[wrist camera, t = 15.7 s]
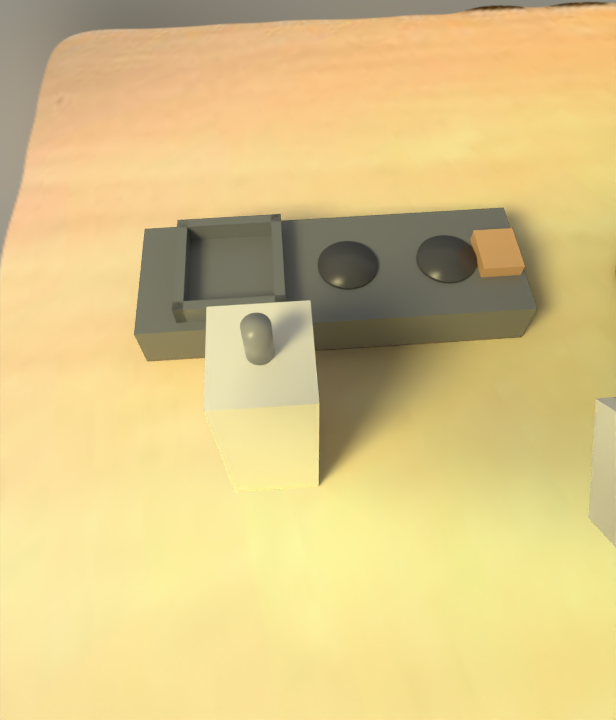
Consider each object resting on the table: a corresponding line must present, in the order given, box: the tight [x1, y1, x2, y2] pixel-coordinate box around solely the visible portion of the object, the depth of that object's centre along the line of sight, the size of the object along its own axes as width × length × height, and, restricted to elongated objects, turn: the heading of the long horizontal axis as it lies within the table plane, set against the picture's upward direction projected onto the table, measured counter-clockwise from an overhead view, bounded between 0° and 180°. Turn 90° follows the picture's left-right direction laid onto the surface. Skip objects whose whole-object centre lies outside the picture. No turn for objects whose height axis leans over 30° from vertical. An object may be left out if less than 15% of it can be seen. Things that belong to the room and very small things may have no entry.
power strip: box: [134, 208, 537, 361], centre depth 36 cm, size 23×8×4 cm, turn 94°
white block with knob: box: [204, 300, 319, 492], centre depth 27 cm, size 4×5×12 cm
